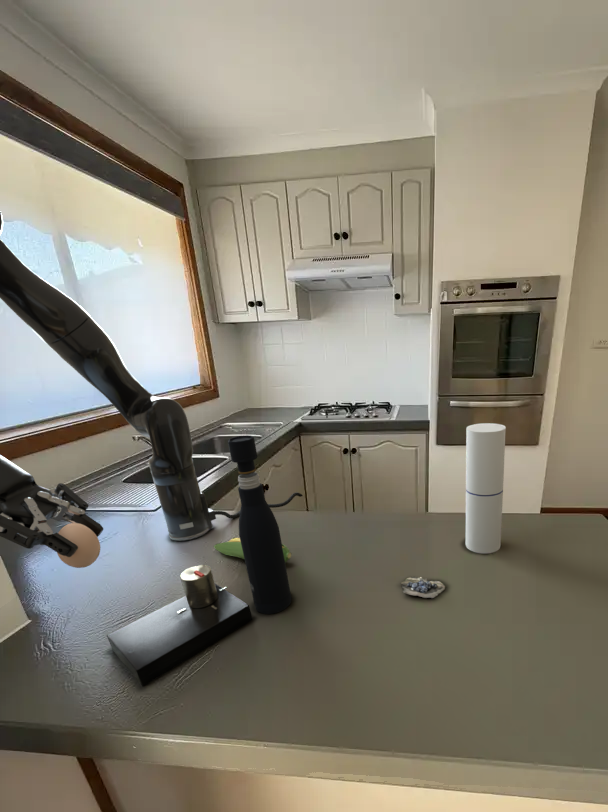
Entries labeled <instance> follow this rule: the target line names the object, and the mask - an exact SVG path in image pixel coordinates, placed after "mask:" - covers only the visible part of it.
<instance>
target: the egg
mask: <svg viewBox="0 0 608 812" xmlns="http://www.w3.org/2000/svg"><path fill="white" fill-rule="evenodd" d="M57 533H58V534H60V535H61V536H63V537H64V538H66V539H68V540H69V541H71V542H72V543H74V544H76V545H77V546H78V549H77V550H76V552H75V553H74V555H72V556H71V557H67V556H63V555H60V554H59V553H58V552H56V554H57V557H58V558H59V559H60V561H62V562H63V564H66V565H67V566H69V567H71V568H74V569H75V568H76V569H83V568H87V567H90V566H91V565H93V564H94V563H95V562H96V561H97V559H98V558H99V556H100V553H101V542H100V540H99V536H98V537H97V536H96V534H95V533H94V532H93V531H92V530H91V529H89V528H88V527H86V526H85V525H82V524H79V523H70V522H69V523H67V524H65V525H64V526H62V527H61V528H60V529H59V531H58V532H57Z"/></svg>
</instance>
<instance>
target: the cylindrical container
mask: <svg viewBox="0 0 608 812" xmlns="http://www.w3.org/2000/svg"><path fill="white" fill-rule="evenodd" d="M465 430H466V431H465V435H466V436H465V439H466V440H465V451H466V452H465V543H464V544H465V547H466V549H468V550H469V551H471V552H473V553H477V554H492V553H496V552H498V551H499V550H500V549H501V545H502V524H503V523H502V521H503V502H504V501H503V500H504V475H505V457H506V456H505V455H506V434H507V433H506V432H507V431H506V430H507V427H506V425H504V424H501V423H495V422H494V423H492V422H490V423H489V422H481V423H475V424H470V425H467V426H466V428H465Z"/></svg>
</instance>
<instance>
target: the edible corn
mask: <svg viewBox="0 0 608 812" xmlns="http://www.w3.org/2000/svg"><path fill="white" fill-rule="evenodd" d="M213 548H214V549H215V551H217V552H219V553H221V554H223V555H226V556H229V557H236V558H239V559H242V560H245V559H244V555H243V550H242V546H241V541H240V537H233V538H231V539H229V540H228V541H225V542H224V541H223V542H219V543H216V544H214V545H213ZM282 548H283V554H284V559H285V563H287V562H288V561H289V560H290V559H291V557H292V553H291V552H290V549H289V548H288V546H286V545H285V544H283V543H282Z"/></svg>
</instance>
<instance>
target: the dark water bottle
mask: <svg viewBox="0 0 608 812" xmlns="http://www.w3.org/2000/svg"><path fill="white" fill-rule="evenodd" d="M227 446H228V450H229V455H230V459H231V462H232V463H236V465H237V466H236V467H237V473H238V474H239V475H238V476H237V482H238V486H239V487H238V488H237V491H238V495H239V500H240V509H239V511H240V516H238V536H239V537H238V538H240V541H241V546H242V550H243V555H244V559H243V560H244V563H245V568H246V572H247V577H248V581H249V586H250V591H251V595H252V599H253V604H254V608H255V610H256V611H257V612H258V613H261V614H263V615H271V614H277V613H280V612H282V611H284V610H286V609H287V608H288V607H289V606H290V605H291V603H292V594H291V588H290V582H289V576H288V570H287V565H286V562H285V559H284V554H283V548H282V544H283V543H282V537H281V533H280V527H279V524H278V521H277V518H276V516H275V514H274V512H273V511H272V508H270V507H269V505H268V504H269V503H268V502H267V500H266V497H265V491H264V486H263V484H262V483H261V480H260V475H259V473H258V472H256V471H257V468H256V466H255V460H257V459H258V452H257V448H256V441H255V437H254V436H253V435H238V436H234V437H231V438H229V439H228V440H227Z"/></svg>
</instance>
